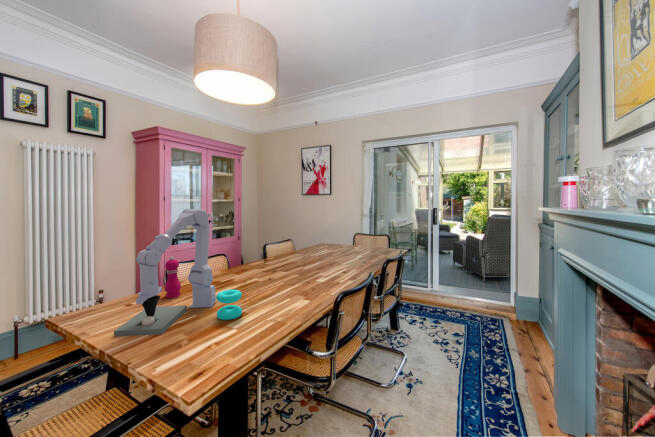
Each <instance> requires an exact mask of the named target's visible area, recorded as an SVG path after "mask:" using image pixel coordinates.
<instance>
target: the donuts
mask: <svg viewBox="0 0 655 437" xmlns="http://www.w3.org/2000/svg"><path fill="white" fill-rule="evenodd" d="M242 296H243V293H242V291H240V290H239V289H232V288H231V289H225V290H221V291H219V292H218V293H216V302H219V303H221V304H227V305H225V306H222V307H220V308H219V309H218V310H216V311H217V312H216V317H217V318H218V319H220V320H223V321H229V320H235V319H237V318H239V317H240V316H241V315H242V314H243V308H242V307H241V306H239V305H236V304H233V303H236V302H237V301H239V300H240V299H241V298H242Z"/></svg>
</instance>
